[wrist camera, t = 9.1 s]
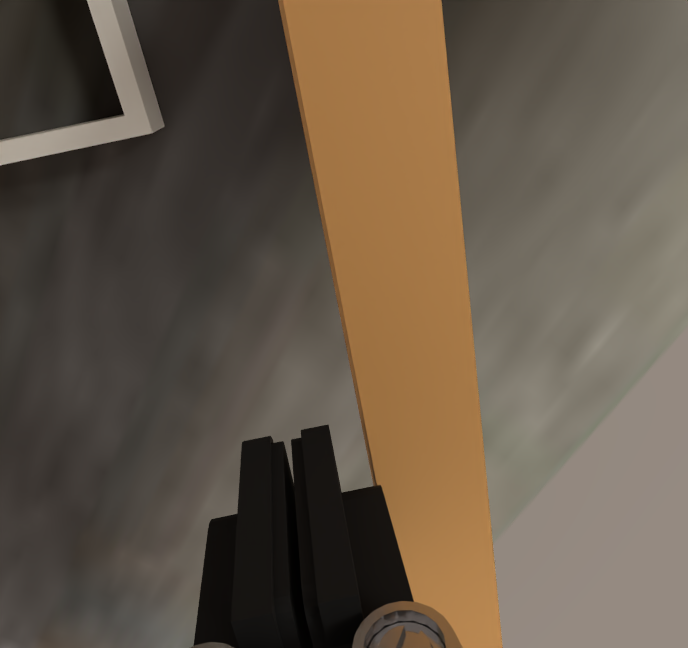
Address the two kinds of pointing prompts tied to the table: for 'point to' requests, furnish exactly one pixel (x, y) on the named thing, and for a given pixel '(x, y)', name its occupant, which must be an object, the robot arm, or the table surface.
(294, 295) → the table surface
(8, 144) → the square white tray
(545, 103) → the table surface
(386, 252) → the bar
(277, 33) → the table surface
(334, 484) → the robot arm
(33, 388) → the table surface
